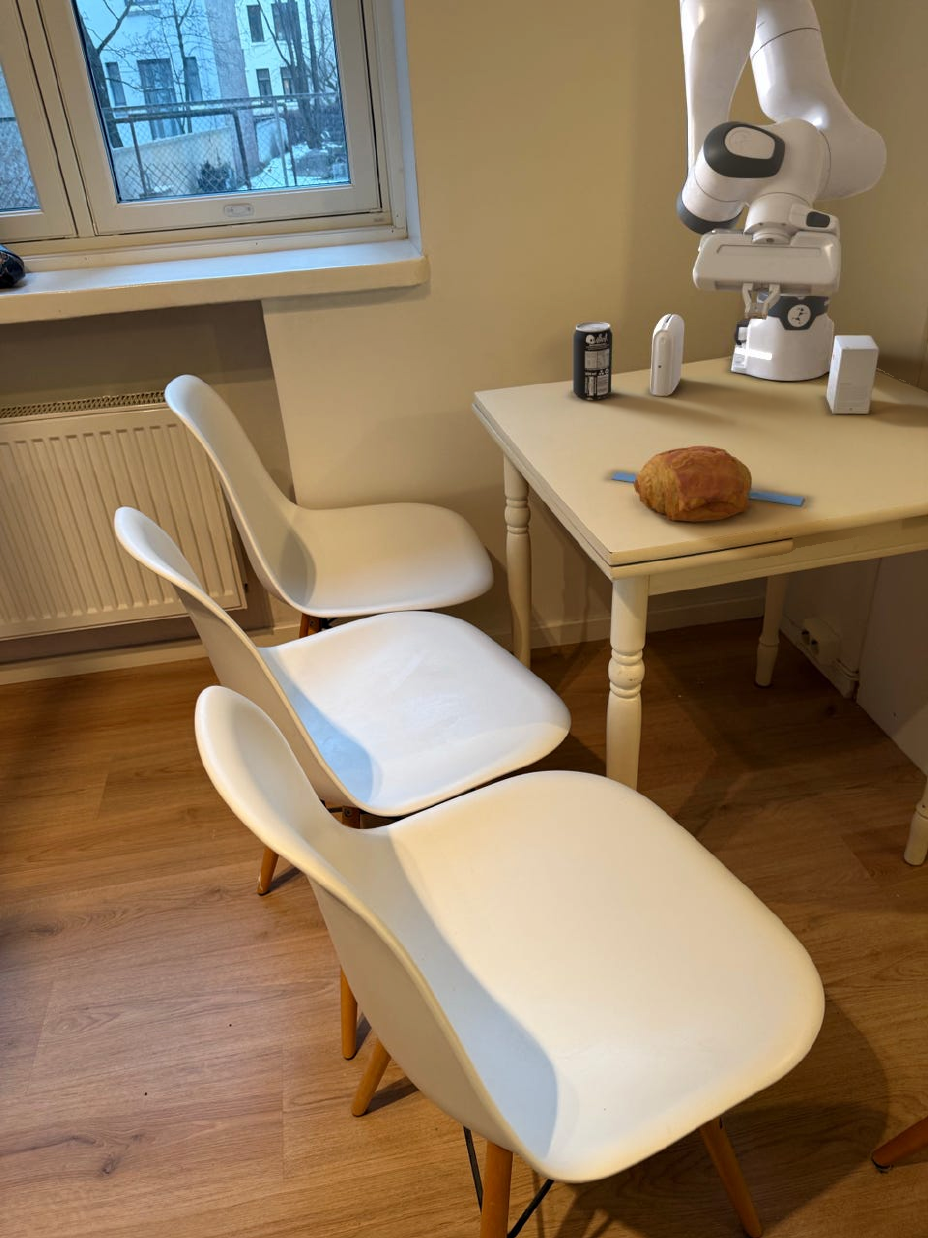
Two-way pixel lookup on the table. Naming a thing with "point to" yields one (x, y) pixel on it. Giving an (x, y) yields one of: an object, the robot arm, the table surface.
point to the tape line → (752, 494)
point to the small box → (852, 374)
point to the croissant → (694, 484)
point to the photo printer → (667, 355)
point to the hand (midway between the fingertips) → (755, 316)
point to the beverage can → (592, 360)
